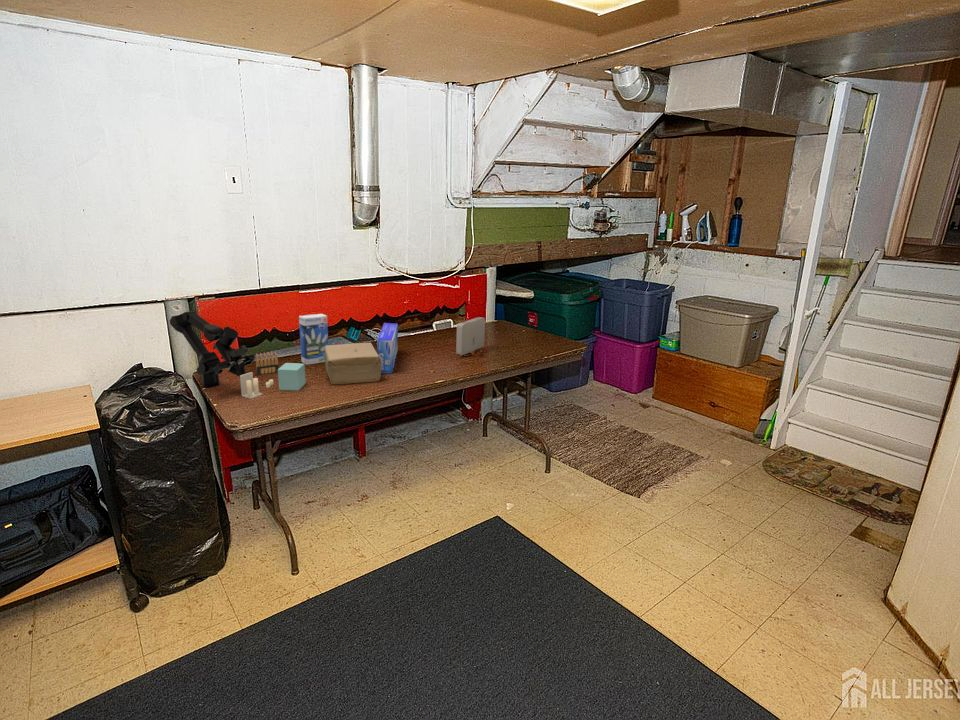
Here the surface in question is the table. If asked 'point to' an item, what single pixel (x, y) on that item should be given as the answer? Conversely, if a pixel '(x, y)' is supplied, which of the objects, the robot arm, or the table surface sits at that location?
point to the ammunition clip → (266, 364)
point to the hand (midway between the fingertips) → (245, 378)
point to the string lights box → (313, 338)
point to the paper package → (352, 363)
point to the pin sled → (249, 386)
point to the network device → (470, 335)
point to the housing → (291, 376)
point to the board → (269, 383)
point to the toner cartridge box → (388, 346)
